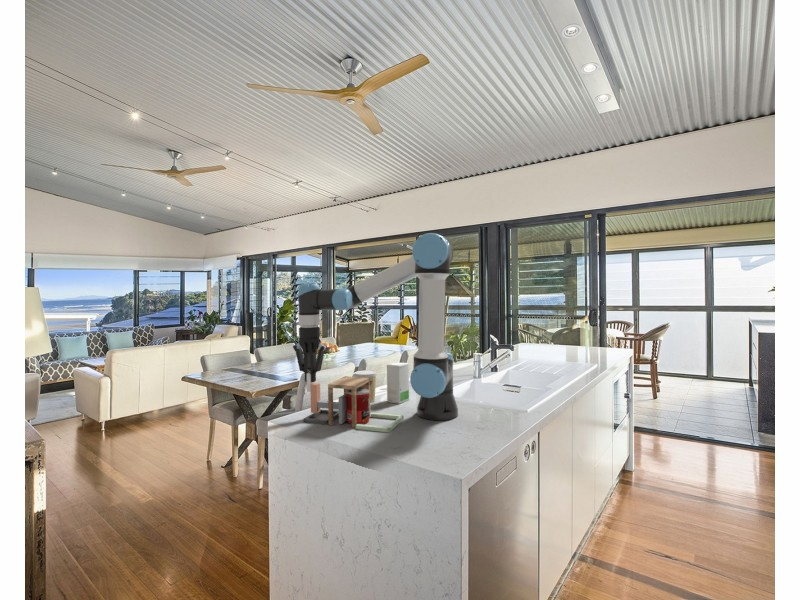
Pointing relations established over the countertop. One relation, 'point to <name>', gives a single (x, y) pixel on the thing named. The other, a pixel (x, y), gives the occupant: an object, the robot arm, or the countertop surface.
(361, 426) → the bay
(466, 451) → the countertop surface
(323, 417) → the tray
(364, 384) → the tunnel
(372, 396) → the coffee cup
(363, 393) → the canned food
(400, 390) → the skincare box
